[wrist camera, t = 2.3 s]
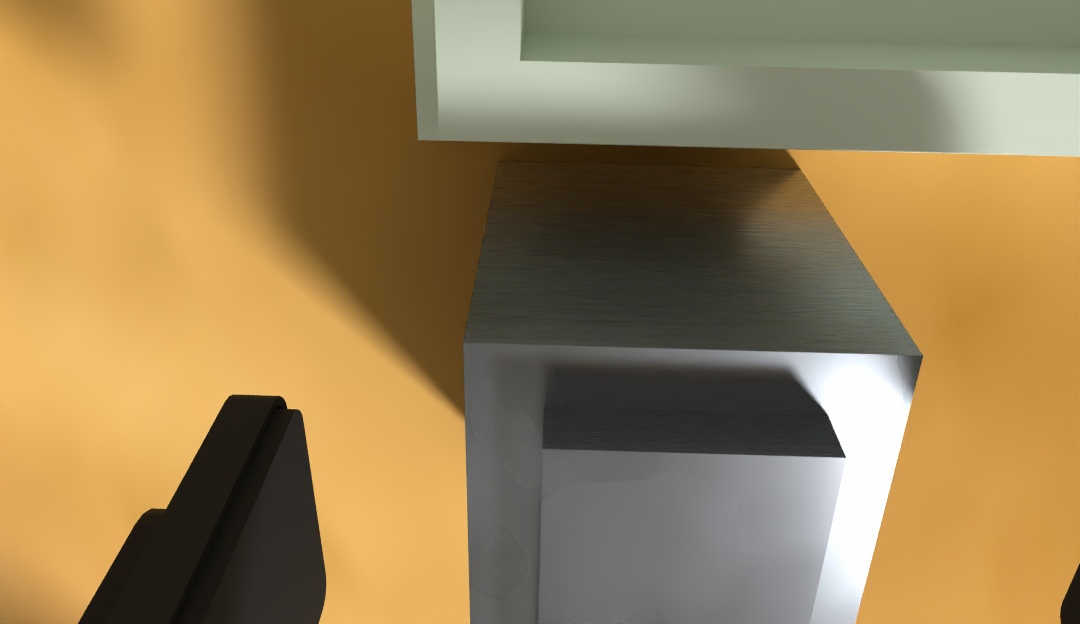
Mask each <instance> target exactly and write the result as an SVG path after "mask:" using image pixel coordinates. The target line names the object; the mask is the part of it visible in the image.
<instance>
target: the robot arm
mask: <svg viewBox="0 0 1080 624" xmlns="http://www.w3.org/2000/svg"><path fill="white" fill-rule="evenodd" d="M325 594H326V573H325V566H324V559H323V552H322V545H321V538H320V532H319V525H318V518H317V511H316V504H315V497H314V490H313V484H312V477H311V470H310V463H309V456H308V449H307V442H306V436H305V429H304V422H303V417H302V414H301V412H300V410H297V409H287V405H286V402H285V400H284V398H282V397H281V396H260V395H231V396H229V397H228V399H227V400H226V401H225V403H224V405H223V406H222V408H221V410H220V412H219V414H218V416H217V417H216V419H215V421H214V423H213V425H212V427H211V428H210V430H209V432H208V434H207V436H206V438H205V439H204V441H203V443H202V445H201V447H200V448H199V450H198V452H197V454H196V456H195V458H194V459H193V461H192V463H191V465H190V467H189V469H188V470H187V472H186V474H185V476H184V478H183V480H182V481H181V483H180V485H179V487H178V489H177V491H176V492H175V494H174V496H173V498H172V500H171V501H170V503H169V505H168V507H167V509H150V510H148V511H147V512H145V513H144V514H143V515H142V516H141V517H140V519H139V520H138V521H137V523H136V524H135V526H134V527H133V529H132V531H131V533H130V534H129V536H128V538H127V539H126V541H125V543H124V545H123V546H122V548H121V550H120V552H119V553H118V555H117V557H116V559H115V560H114V562H113V564H112V565H111V567H110V569H109V571H108V572H107V574H106V576H105V578H104V579H103V581H102V583H101V585H100V586H99V588H98V590H97V591H96V593H95V595H94V597H93V598H92V600H91V602H90V604H89V605H88V607H87V609H86V610H85V612H84V614H83V616H82V617H81V619H80V621H79V623H78V624H318V623H319V620H320V617H321V613H322V610H323V606H324V601H325ZM1060 618H1061V624H1080V564H1079V566H1078V569H1077V571H1076V573H1075V575H1074V578H1073V580H1072V582H1071V584H1070V587H1069V589H1068V591H1067V593H1066V596H1065V598H1064V600H1063V602H1062V606H1061V613H1060Z"/></svg>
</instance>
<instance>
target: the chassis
mask: <svg viewBox="0 0 1080 624" xmlns="http://www.w3.org/2000/svg"><path fill="white" fill-rule="evenodd" d="M411 3H412V24H413V46H414V67H415V88H416V109H417V130H418V140H434V141H475V142H515V143H555V144H596V145H636V146H676V147H717V148H757V149H797V150H838V151H878V152H919V153H959V154H999V155H1040V156H1080V0H411Z"/></svg>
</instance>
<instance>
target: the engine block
mask: <svg viewBox="0 0 1080 624" xmlns="http://www.w3.org/2000/svg"><path fill="white" fill-rule="evenodd" d="M463 357H464V396H465V435H466V474H467V513H468V552H469V591H470V624H855V622H856V618H857V614H858V610H859V606H860V602H861V598H862V594H863V590H864V587H865V583H866V579H867V575H868V571H869V567H870V563H871V559H872V555H873V551H874V547H875V543H876V539H877V535H878V531H879V527H880V524H881V520H882V516H883V512H884V508H885V504H886V500H887V496H888V492H889V488H890V484H891V480H892V476H893V472H894V468H895V464H896V460H897V457H898V453H899V449H900V445H901V441H902V437H903V433H904V429H905V425H906V421H907V417H908V413H909V409H910V405H911V401H912V397H913V393H914V390H915V386H916V382H917V378H918V374H919V370H920V366H921V362H922V358H923V355H922V353H921V352H920V350H919V349H918V347H917V346H916V344H915V343H914V341H913V340H912V338H911V337H910V335H909V334H908V332H907V331H906V329H905V327H904V326H903V324H902V323H901V321H900V320H899V318H898V317H897V315H896V314H895V312H894V311H893V309H892V308H891V306H890V305H889V303H888V302H887V300H886V299H885V297H884V295H883V294H882V292H881V291H880V289H879V288H878V286H877V285H876V283H875V282H874V280H873V279H872V277H871V276H870V274H869V273H868V271H867V270H866V268H865V267H864V265H863V263H862V262H861V260H860V259H859V257H858V256H857V254H856V253H855V251H854V250H853V248H852V247H851V245H850V244H849V242H848V241H847V239H846V238H845V236H844V235H843V233H842V232H841V230H840V228H839V227H838V225H837V224H836V222H835V221H834V219H833V218H832V216H831V215H830V213H829V212H828V210H827V209H826V207H825V206H824V204H823V203H822V201H821V200H820V198H819V196H818V195H817V193H816V192H815V190H814V189H813V187H812V186H811V184H810V183H809V181H808V180H807V178H806V177H805V175H804V174H803V172H802V171H801V169H790V168H751V167H711V166H671V165H632V164H592V163H552V162H512V161H498V165H497V170H496V175H495V180H494V186H493V191H492V196H491V201H490V206H489V211H488V217H487V222H486V227H485V232H484V237H483V243H482V248H481V253H480V258H479V263H478V269H477V274H476V279H475V284H474V289H473V294H472V300H471V305H470V310H469V315H468V320H467V326H466V331H465V336H464V341H463Z"/></svg>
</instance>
